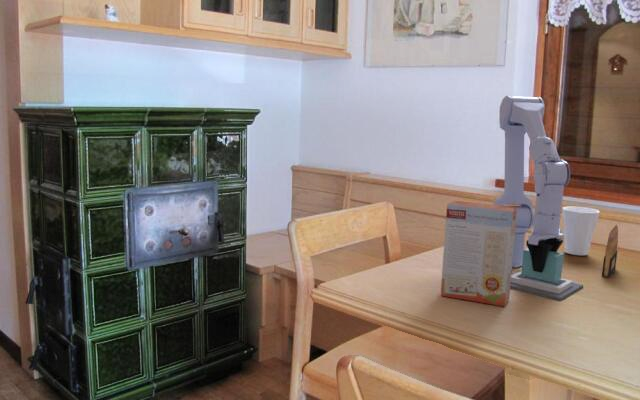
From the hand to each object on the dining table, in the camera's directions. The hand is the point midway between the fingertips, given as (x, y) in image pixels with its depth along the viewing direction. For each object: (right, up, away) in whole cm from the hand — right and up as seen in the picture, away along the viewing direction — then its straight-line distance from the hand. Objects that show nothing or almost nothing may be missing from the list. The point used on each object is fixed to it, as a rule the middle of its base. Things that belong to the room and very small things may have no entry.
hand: (541, 269), depth 146 cm
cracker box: (-18, -5, -10) cm, 21 cm away
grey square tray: (0, -4, +1) cm, 4 cm away
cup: (+22, +1, +33) cm, 40 cm away
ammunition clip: (+23, -3, +15) cm, 27 cm away
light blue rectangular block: (0, -2, 0) cm, 2 cm away
